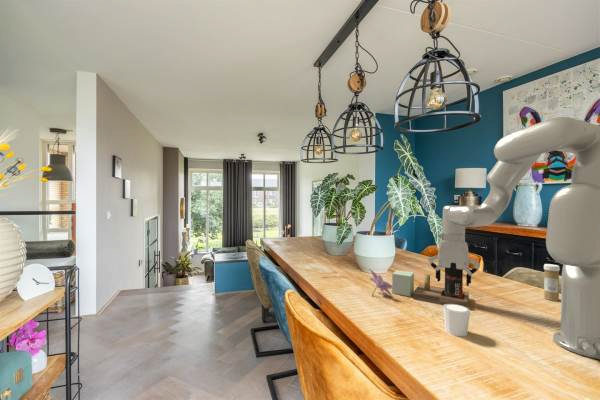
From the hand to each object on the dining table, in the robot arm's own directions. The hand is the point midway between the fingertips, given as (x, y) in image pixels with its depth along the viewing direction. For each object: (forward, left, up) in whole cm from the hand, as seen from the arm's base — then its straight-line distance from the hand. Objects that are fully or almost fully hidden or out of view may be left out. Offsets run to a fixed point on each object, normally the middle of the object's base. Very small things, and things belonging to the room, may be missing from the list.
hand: (452, 282), depth 106 cm
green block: (-1, +18, -7) cm, 19 cm away
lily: (-9, +25, -7) cm, 28 cm away
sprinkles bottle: (+24, -32, -7) cm, 41 cm away
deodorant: (0, 0, -7) cm, 7 cm away
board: (0, +4, -7) cm, 8 cm away
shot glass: (-28, -3, -7) cm, 29 cm away
